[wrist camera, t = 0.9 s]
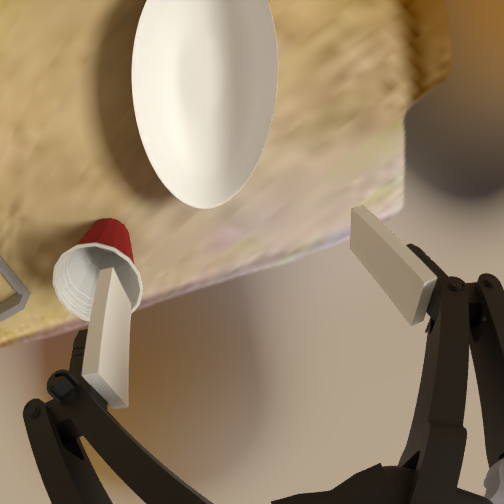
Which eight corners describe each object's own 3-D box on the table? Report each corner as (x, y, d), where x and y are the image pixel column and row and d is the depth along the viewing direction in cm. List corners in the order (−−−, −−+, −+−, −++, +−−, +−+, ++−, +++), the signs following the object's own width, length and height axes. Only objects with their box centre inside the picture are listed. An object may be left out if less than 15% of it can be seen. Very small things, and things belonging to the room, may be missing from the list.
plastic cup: (150, 202, 40) (145, 251, 31) (144, 268, 46) (142, 327, 36) (73, 196, 37) (45, 243, 27) (76, 263, 42) (58, 319, 33)
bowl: (258, 185, 43) (270, 203, 38) (146, 194, 40) (143, 214, 35) (266, -31, 26) (282, -45, 21) (140, -31, 23) (135, -47, 18)
